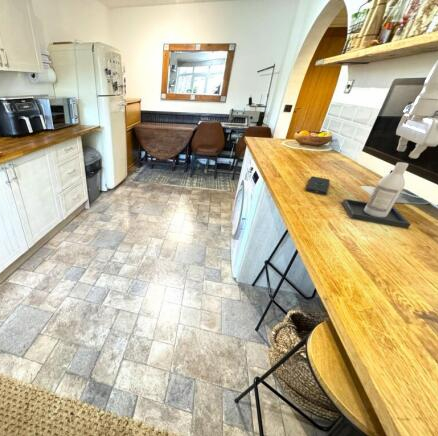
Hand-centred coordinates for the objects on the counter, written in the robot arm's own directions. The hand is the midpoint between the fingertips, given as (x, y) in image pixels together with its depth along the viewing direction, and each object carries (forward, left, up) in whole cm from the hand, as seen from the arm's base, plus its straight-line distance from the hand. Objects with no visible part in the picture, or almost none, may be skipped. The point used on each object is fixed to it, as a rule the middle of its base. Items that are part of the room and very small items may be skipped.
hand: (406, 154), depth 81 cm
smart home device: (+15, -24, -24) cm, 37 cm away
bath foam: (0, 0, -23) cm, 23 cm away
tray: (0, 0, -24) cm, 24 cm away
